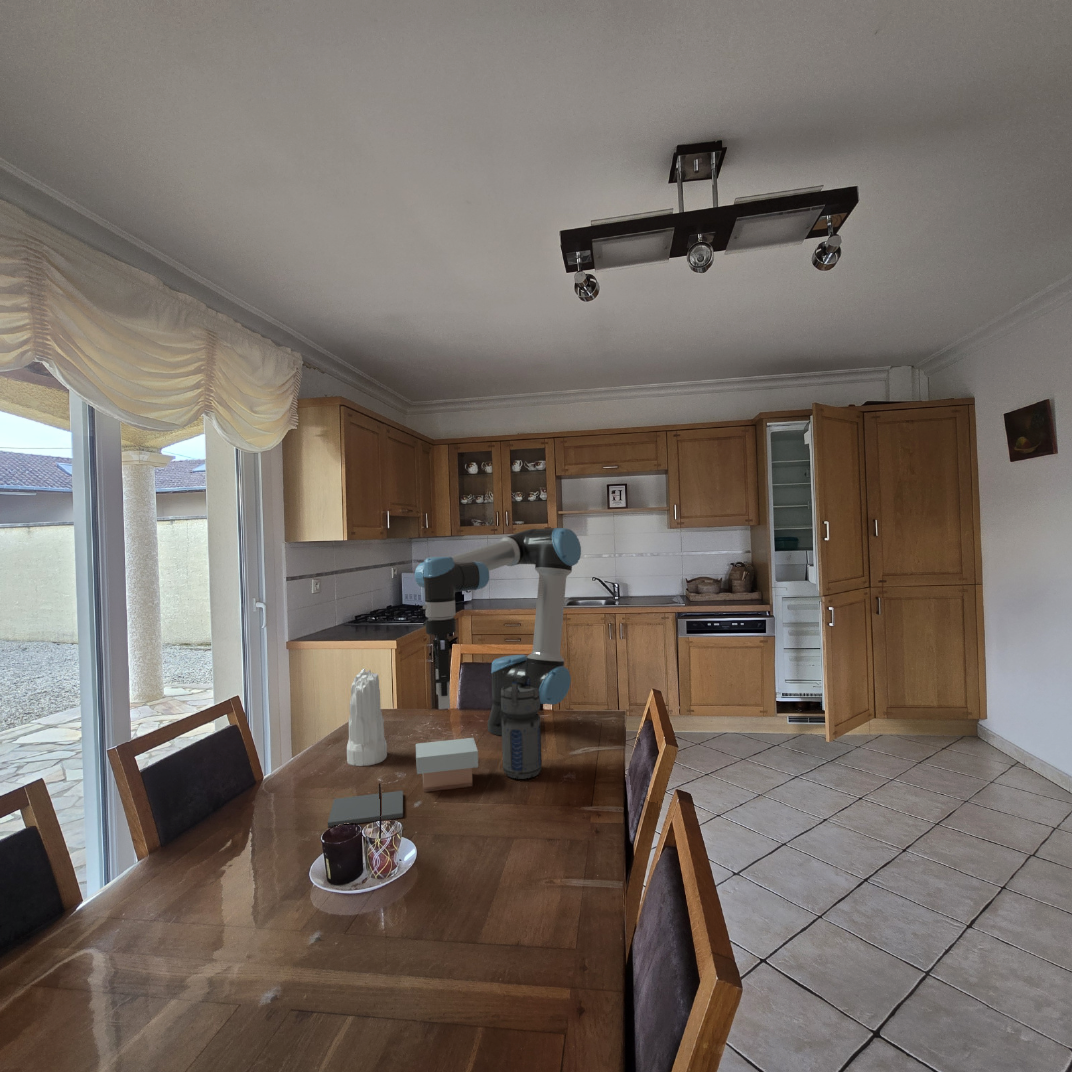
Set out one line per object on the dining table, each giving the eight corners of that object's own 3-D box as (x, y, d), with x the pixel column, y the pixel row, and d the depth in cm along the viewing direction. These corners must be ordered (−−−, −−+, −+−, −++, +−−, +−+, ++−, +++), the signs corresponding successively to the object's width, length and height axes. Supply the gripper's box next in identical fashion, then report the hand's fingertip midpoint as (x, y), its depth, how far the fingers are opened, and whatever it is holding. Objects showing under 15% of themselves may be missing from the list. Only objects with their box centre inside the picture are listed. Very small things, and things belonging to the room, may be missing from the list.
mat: (402, 794, 146) (402, 790, 146) (402, 817, 134) (402, 813, 134) (334, 803, 142) (334, 798, 142) (327, 827, 130) (327, 822, 130)
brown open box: (469, 773, 157) (468, 754, 157) (472, 786, 149) (471, 766, 149) (422, 779, 154) (422, 759, 154) (423, 792, 147) (423, 771, 147)
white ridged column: (380, 765, 164) (377, 675, 164) (341, 766, 164) (338, 676, 164) (390, 751, 175) (388, 666, 175) (354, 752, 175) (351, 667, 175)
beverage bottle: (547, 763, 162) (545, 671, 162) (536, 783, 149) (532, 684, 149) (512, 761, 165) (509, 670, 165) (497, 780, 152) (494, 683, 152)
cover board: (473, 752, 158) (473, 737, 158) (478, 767, 149) (477, 751, 148) (416, 759, 155) (415, 743, 155) (416, 774, 145) (416, 757, 145)
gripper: (424, 612, 163) (426, 689, 163) (426, 625, 139) (429, 716, 139) (452, 610, 165) (454, 687, 165) (459, 623, 140) (461, 713, 140)
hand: (443, 701), depth 152 cm, fingers open, 13 cm apart
